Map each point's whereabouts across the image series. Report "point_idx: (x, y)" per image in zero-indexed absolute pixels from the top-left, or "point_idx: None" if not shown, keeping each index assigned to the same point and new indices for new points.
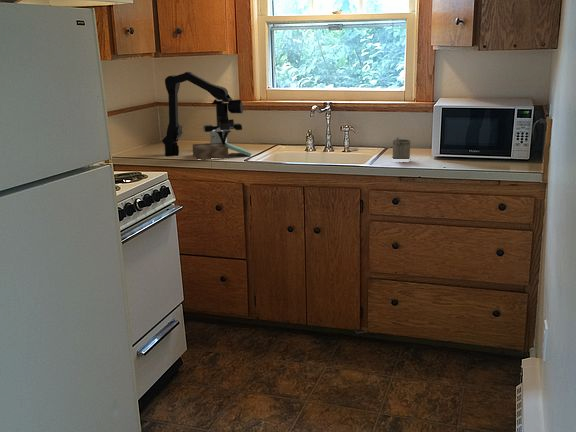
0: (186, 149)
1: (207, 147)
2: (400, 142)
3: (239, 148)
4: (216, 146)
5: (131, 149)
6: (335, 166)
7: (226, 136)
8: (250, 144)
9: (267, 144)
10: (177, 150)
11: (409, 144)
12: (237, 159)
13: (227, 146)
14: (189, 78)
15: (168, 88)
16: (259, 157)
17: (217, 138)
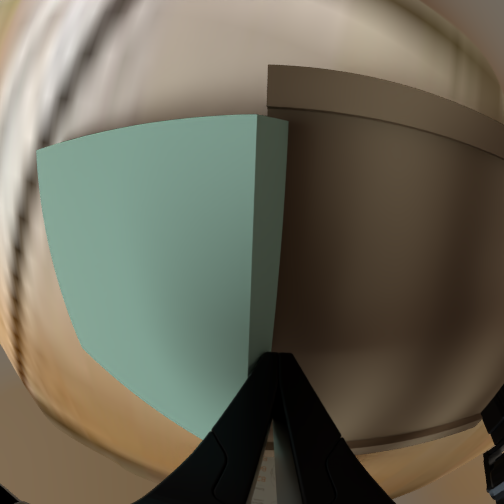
0: (379, 466)
1: (490, 310)
2: None
3: (87, 267)
4: (381, 346)
5: (480, 452)
6: None
7: (191, 466)
8: (106, 445)
9: (52, 412)
10: (501, 396)
11: None
12: (191, 23)
13: (262, 120)
14: None
15: None
16: (24, 98)
17: (253, 501)
